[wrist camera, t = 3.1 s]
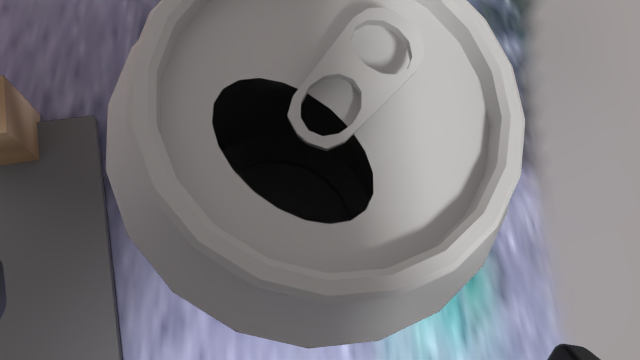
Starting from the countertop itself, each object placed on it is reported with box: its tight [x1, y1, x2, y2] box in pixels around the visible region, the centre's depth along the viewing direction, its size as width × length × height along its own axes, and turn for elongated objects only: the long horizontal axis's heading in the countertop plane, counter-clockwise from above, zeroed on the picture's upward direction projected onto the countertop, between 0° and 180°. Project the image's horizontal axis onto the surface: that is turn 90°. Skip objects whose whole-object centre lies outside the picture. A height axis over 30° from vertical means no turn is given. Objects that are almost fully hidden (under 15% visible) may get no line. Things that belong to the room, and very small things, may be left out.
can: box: [106, 0, 525, 348], centre depth 13 cm, size 8×8×12 cm
